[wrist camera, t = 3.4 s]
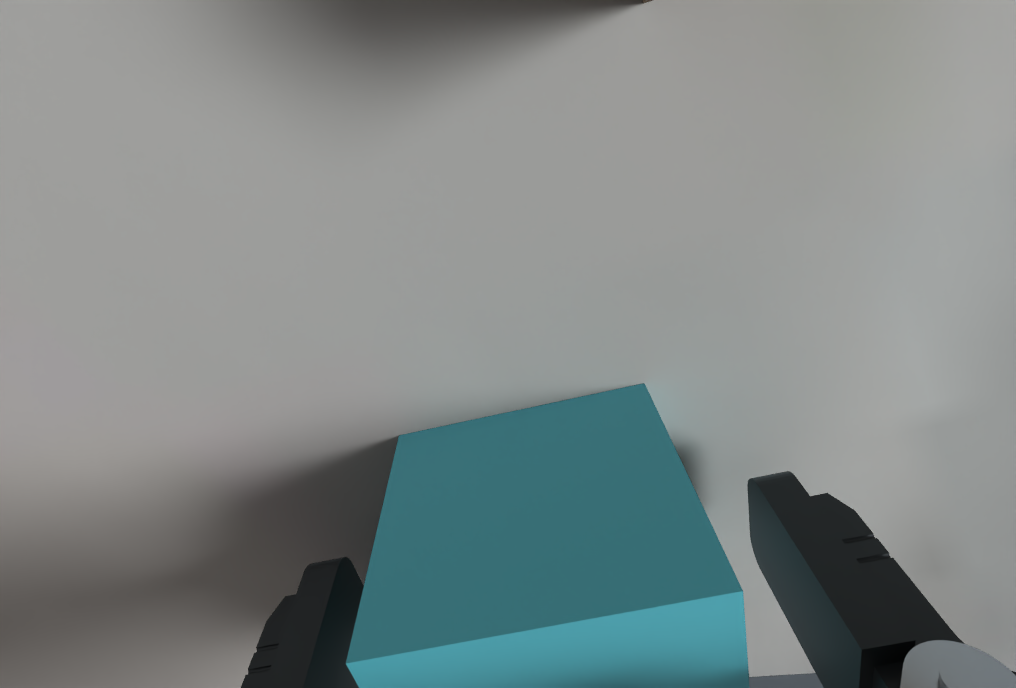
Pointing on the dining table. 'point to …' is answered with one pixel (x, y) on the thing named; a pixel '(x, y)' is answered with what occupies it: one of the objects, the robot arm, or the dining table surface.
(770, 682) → the slate gray block
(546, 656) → the teal block
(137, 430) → the dining table surface
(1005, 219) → the dining table surface
